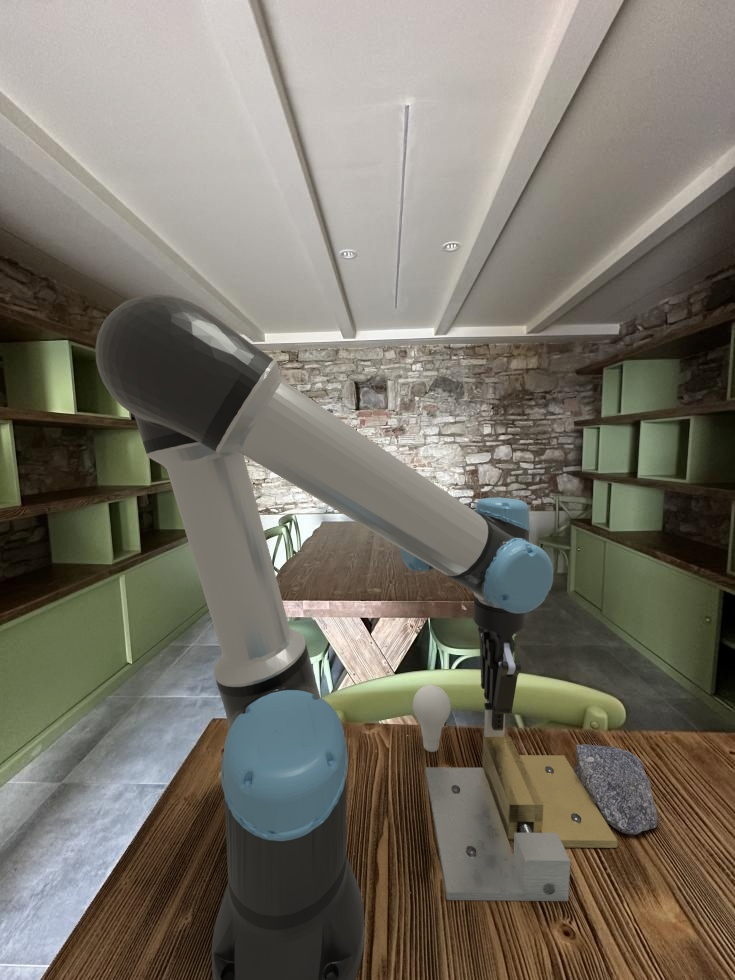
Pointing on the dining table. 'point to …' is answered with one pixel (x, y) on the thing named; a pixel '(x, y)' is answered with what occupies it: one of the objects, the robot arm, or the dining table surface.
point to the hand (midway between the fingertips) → (493, 742)
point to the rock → (617, 787)
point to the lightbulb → (431, 714)
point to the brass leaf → (543, 796)
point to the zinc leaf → (490, 845)
